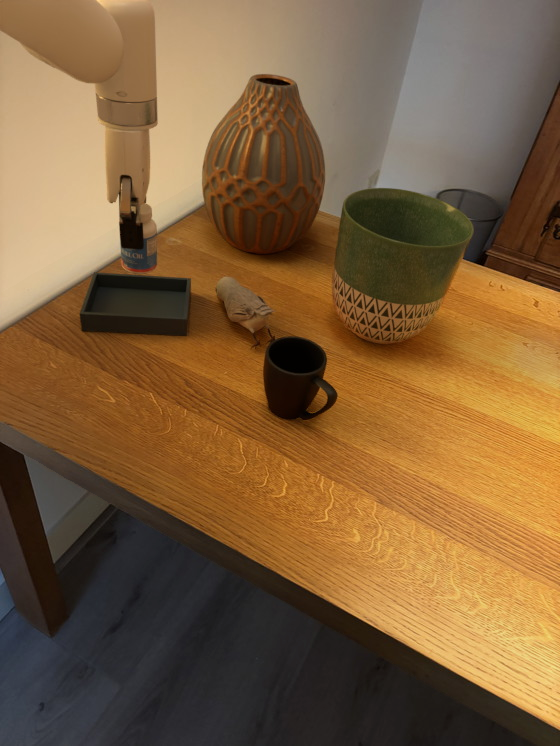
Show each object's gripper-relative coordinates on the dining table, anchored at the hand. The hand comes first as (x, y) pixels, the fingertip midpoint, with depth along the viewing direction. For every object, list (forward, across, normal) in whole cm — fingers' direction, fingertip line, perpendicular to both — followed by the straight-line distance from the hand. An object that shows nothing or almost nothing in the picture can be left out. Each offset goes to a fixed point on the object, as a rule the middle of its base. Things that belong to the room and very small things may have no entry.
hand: (135, 236), depth 82 cm
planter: (+14, +2, +40) cm, 42 cm away
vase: (+14, -29, +21) cm, 38 cm away
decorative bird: (+14, +2, +17) cm, 22 cm away
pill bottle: (+5, 0, 0) cm, 5 cm away
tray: (+14, 0, 0) cm, 14 cm away
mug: (+14, +23, +24) cm, 36 cm away
